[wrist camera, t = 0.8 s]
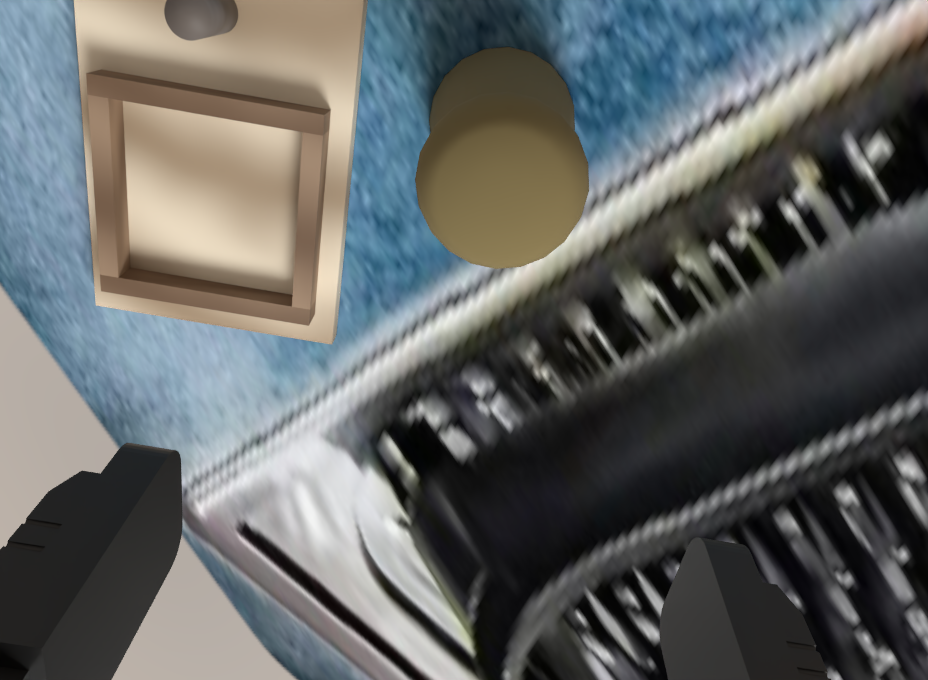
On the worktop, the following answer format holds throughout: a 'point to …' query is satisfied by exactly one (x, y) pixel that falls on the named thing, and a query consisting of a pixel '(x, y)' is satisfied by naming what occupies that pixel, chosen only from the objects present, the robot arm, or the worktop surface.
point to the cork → (502, 160)
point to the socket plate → (221, 157)
